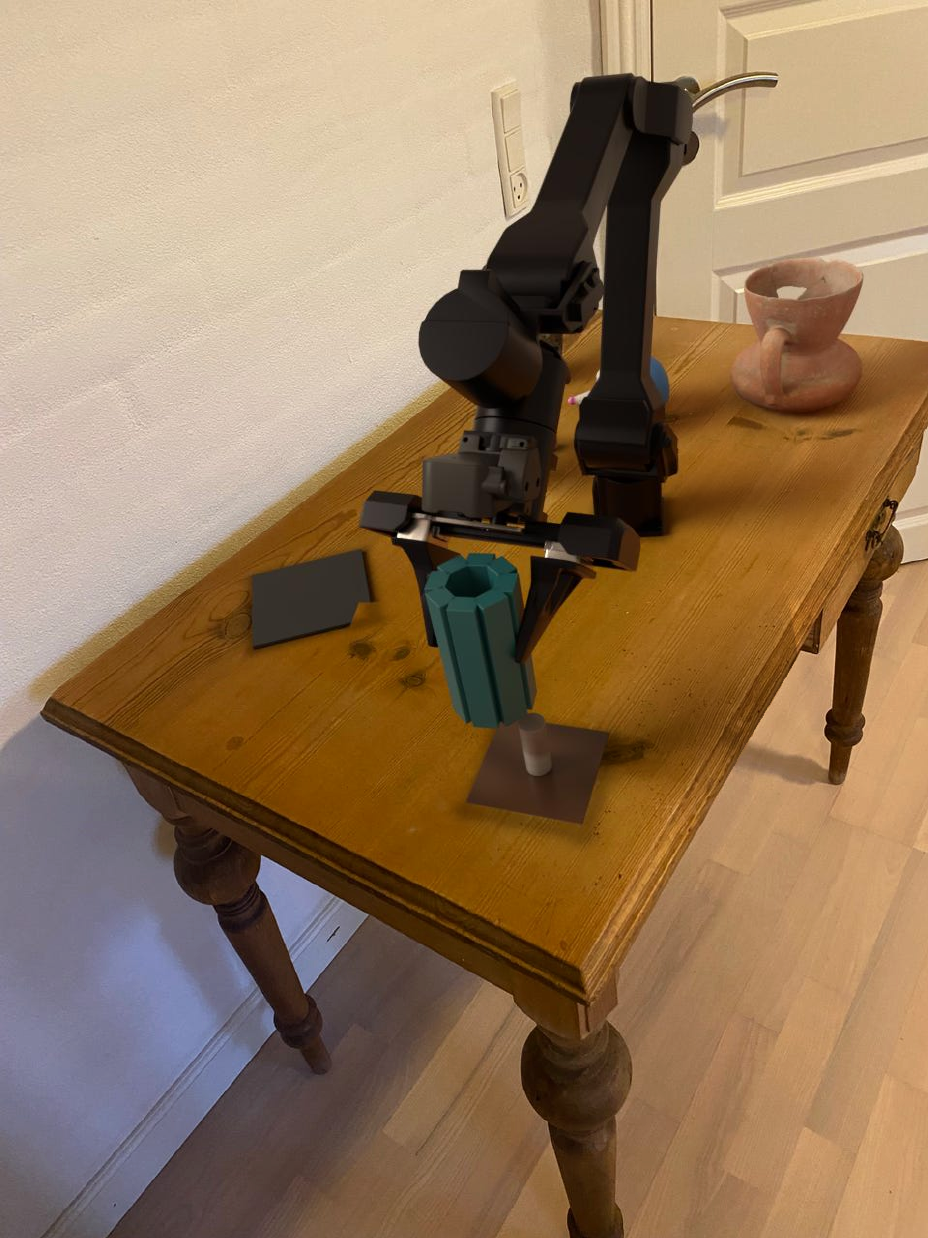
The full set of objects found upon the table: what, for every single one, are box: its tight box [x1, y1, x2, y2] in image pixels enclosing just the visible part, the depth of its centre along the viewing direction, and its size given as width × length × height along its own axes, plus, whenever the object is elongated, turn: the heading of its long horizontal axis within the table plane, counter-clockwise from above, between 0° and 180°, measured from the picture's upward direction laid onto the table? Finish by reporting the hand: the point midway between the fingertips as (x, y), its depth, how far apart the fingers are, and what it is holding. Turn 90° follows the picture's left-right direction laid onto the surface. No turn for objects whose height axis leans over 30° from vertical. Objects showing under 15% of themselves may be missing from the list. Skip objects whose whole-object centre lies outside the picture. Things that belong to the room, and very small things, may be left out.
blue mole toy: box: [567, 355, 670, 407], centre depth 105 cm, size 12×12×8 cm
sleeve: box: [425, 552, 538, 730], centre depth 61 cm, size 6×6×11 cm
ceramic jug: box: [729, 257, 864, 413], centre depth 101 cm, size 18×14×14 cm
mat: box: [251, 548, 372, 650], centre depth 91 cm, size 12×12×1 cm
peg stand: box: [465, 712, 610, 826], centre depth 67 cm, size 9×9×6 cm
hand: (475, 655), depth 61 cm, fingers closed on sleeve, 6 cm apart
